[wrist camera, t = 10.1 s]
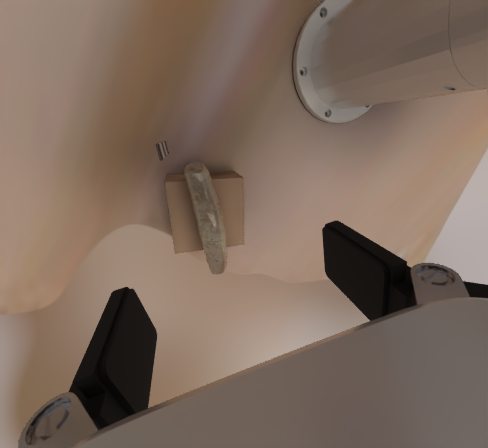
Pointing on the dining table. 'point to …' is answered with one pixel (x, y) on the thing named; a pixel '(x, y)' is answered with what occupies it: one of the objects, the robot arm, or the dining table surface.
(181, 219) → the tan box
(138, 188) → the dining table surface
